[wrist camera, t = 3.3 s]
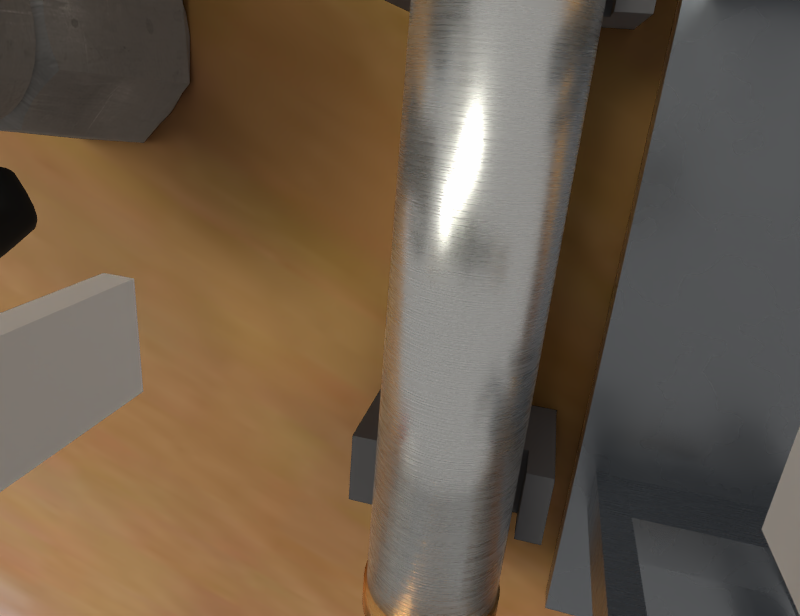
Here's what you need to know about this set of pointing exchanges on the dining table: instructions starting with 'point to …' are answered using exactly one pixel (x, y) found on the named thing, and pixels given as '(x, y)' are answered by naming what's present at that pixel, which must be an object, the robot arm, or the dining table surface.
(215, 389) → the dining table surface
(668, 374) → the grey tube stand
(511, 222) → the tube
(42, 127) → the coffeepot
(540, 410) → the rest chocks
